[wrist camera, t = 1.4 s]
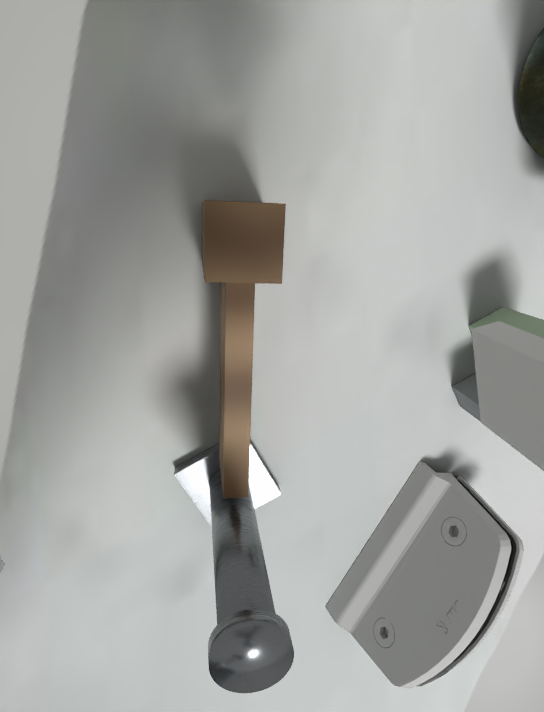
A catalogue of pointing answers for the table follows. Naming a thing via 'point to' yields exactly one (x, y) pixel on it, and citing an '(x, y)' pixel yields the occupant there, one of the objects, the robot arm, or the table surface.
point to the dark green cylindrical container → (533, 96)
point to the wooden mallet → (239, 314)
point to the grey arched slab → (428, 579)
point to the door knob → (239, 577)
